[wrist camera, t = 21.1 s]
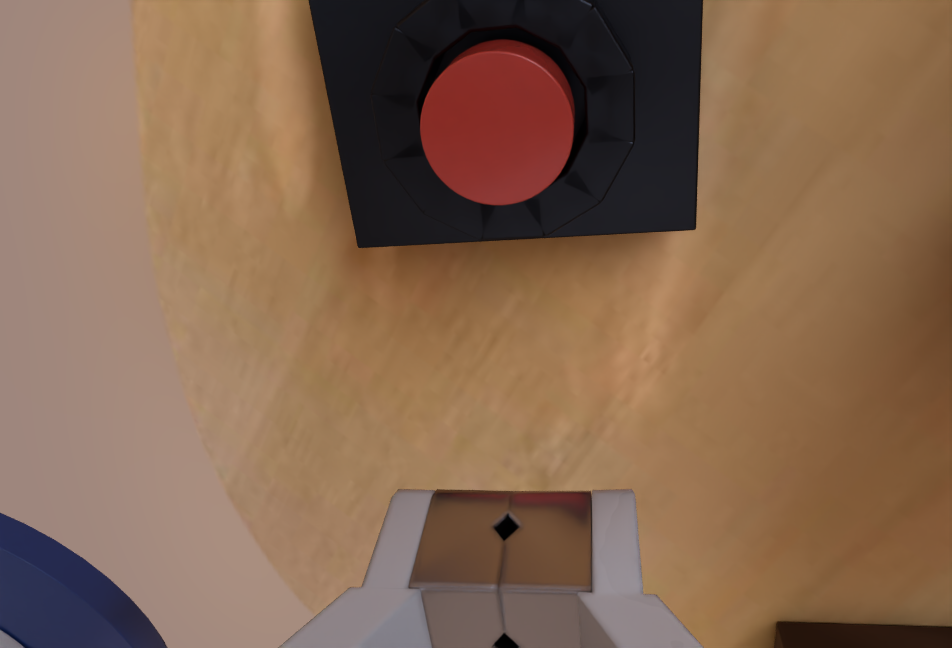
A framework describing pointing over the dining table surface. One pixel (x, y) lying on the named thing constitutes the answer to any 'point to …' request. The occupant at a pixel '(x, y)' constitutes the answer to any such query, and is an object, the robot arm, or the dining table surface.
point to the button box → (595, 128)
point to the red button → (499, 122)
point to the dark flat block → (860, 636)
